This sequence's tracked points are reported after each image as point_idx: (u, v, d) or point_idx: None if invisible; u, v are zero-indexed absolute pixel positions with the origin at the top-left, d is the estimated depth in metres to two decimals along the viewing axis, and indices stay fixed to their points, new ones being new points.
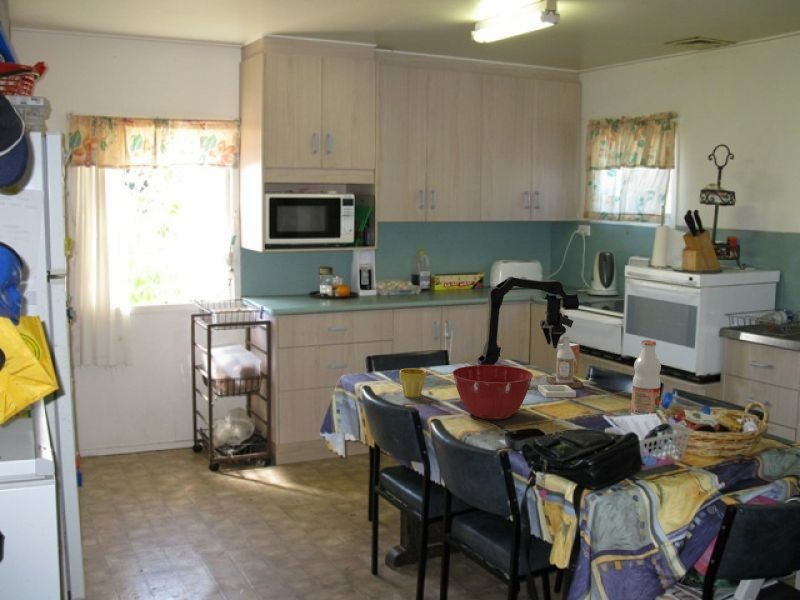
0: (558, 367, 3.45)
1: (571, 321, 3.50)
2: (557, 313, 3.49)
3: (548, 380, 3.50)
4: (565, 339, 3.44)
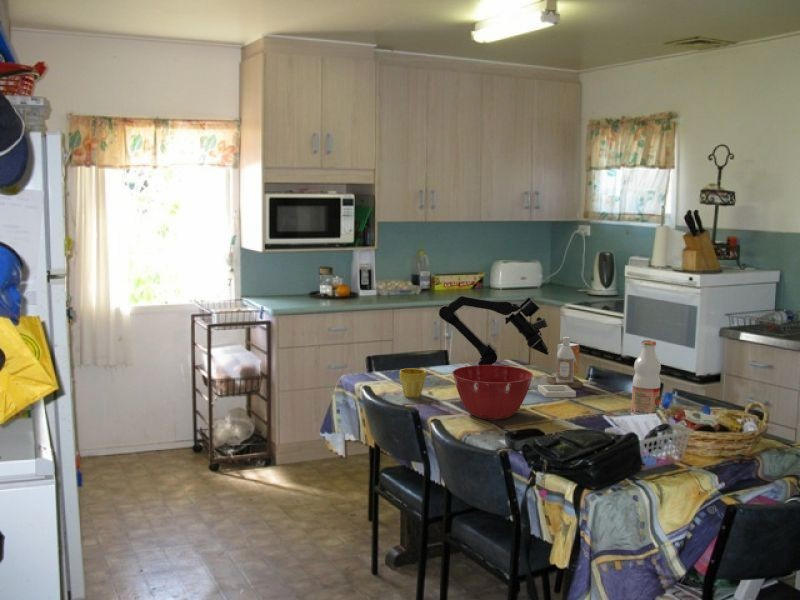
0: (558, 367, 3.45)
1: (542, 321, 3.43)
2: (525, 325, 3.44)
3: (548, 380, 3.50)
4: (565, 339, 3.44)
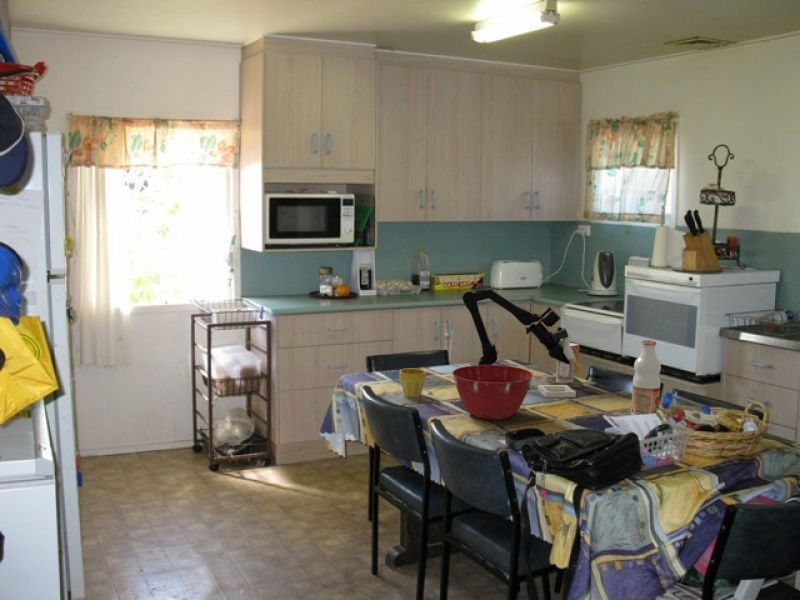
0: (558, 367, 3.45)
1: (563, 331, 3.42)
2: (546, 336, 3.43)
3: (548, 380, 3.50)
4: (565, 339, 3.44)
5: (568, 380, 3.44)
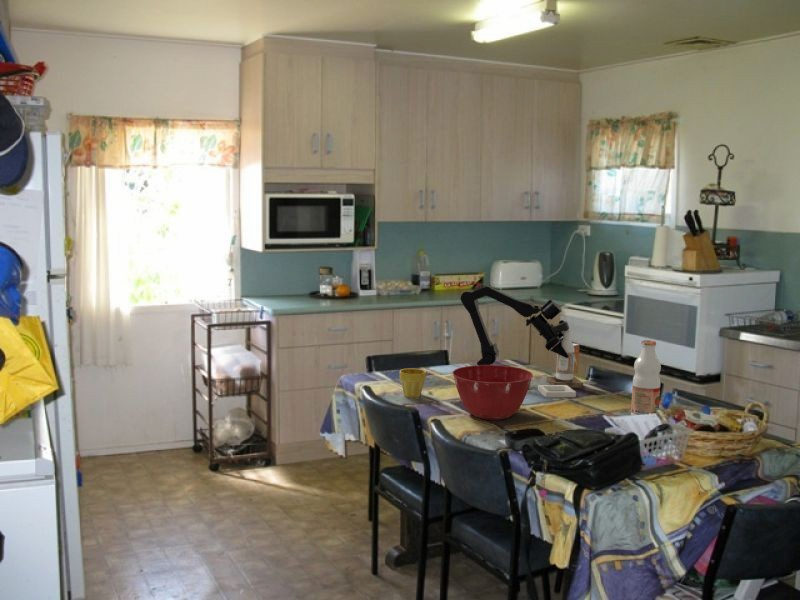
0: (557, 361, 3.40)
1: (563, 324, 3.37)
2: (546, 328, 3.39)
3: (548, 380, 3.50)
4: (565, 332, 3.38)
5: (567, 374, 3.38)
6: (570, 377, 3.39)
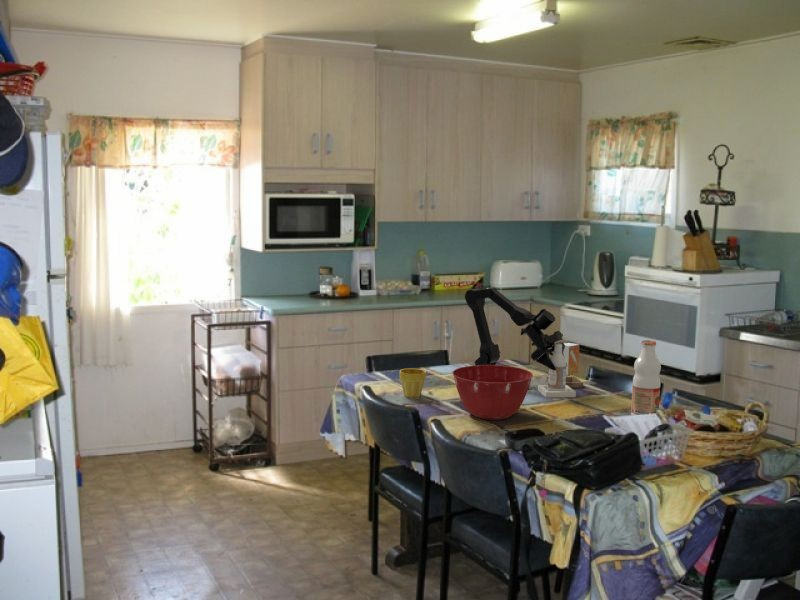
0: (548, 374, 3.30)
1: (553, 335, 3.27)
2: (537, 338, 3.31)
3: None
4: (555, 346, 3.28)
5: (555, 389, 3.28)
6: None
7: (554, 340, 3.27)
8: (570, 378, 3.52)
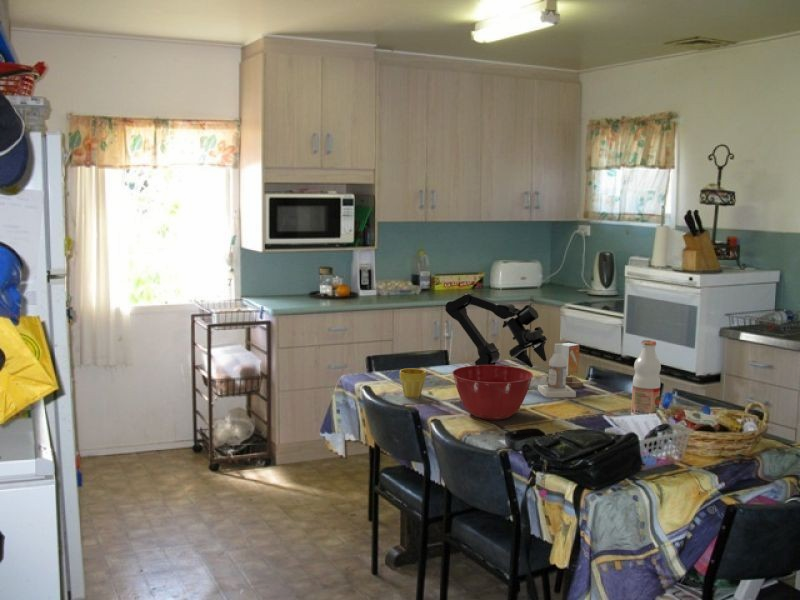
0: (548, 374, 3.30)
1: (532, 333, 3.33)
2: (518, 333, 3.38)
3: None
4: (555, 346, 3.28)
5: (555, 389, 3.28)
6: None
7: (533, 338, 3.33)
8: (570, 378, 3.52)
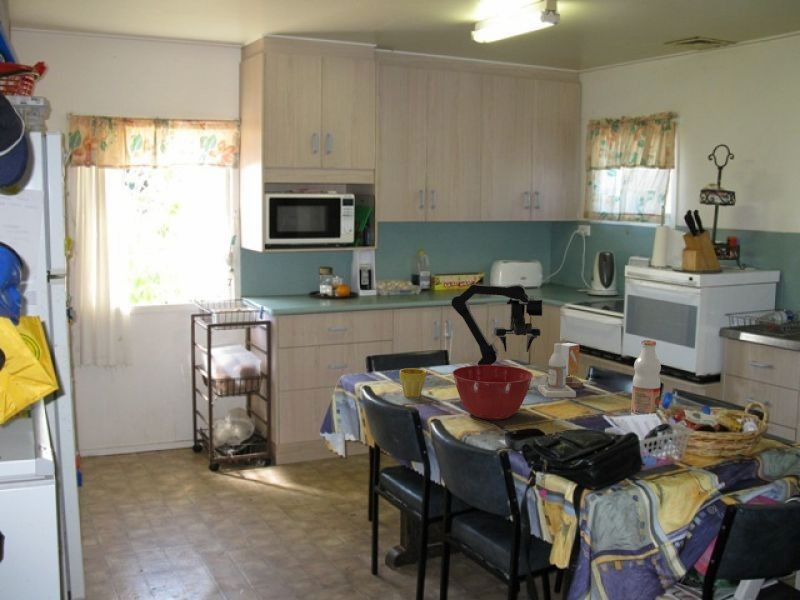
0: (548, 374, 3.31)
1: (515, 328, 3.39)
2: (511, 318, 3.45)
3: None
4: (555, 346, 3.28)
5: (555, 389, 3.28)
6: None
7: (515, 332, 3.40)
8: (570, 378, 3.52)
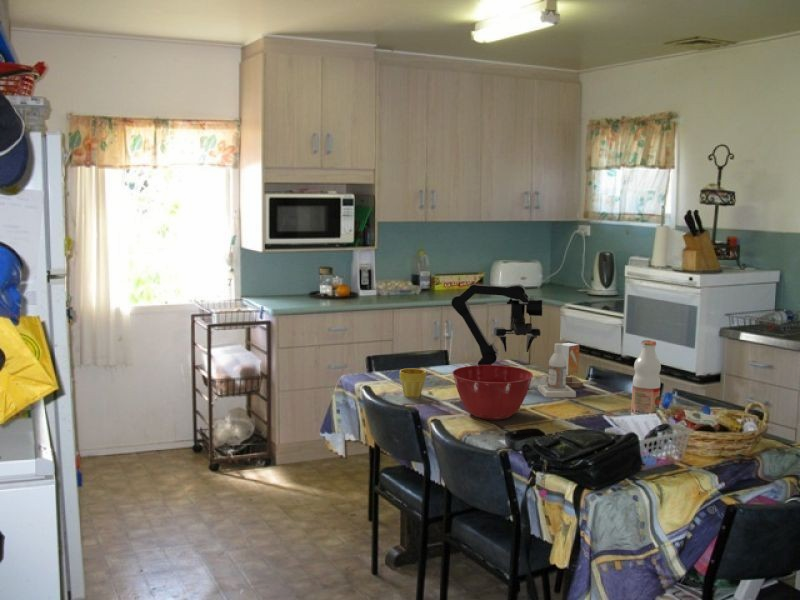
0: (548, 374, 3.30)
1: (515, 328, 3.39)
2: (511, 318, 3.45)
3: None
4: (555, 346, 3.28)
5: (555, 389, 3.28)
6: None
7: (515, 332, 3.40)
8: (570, 378, 3.52)
